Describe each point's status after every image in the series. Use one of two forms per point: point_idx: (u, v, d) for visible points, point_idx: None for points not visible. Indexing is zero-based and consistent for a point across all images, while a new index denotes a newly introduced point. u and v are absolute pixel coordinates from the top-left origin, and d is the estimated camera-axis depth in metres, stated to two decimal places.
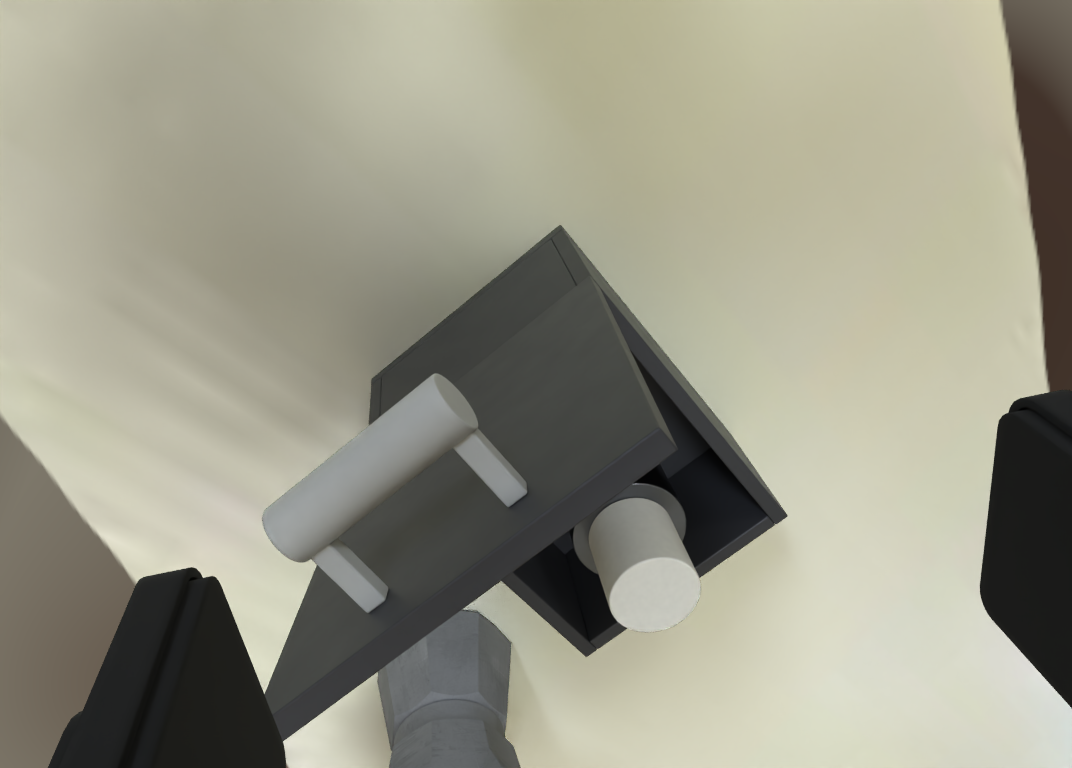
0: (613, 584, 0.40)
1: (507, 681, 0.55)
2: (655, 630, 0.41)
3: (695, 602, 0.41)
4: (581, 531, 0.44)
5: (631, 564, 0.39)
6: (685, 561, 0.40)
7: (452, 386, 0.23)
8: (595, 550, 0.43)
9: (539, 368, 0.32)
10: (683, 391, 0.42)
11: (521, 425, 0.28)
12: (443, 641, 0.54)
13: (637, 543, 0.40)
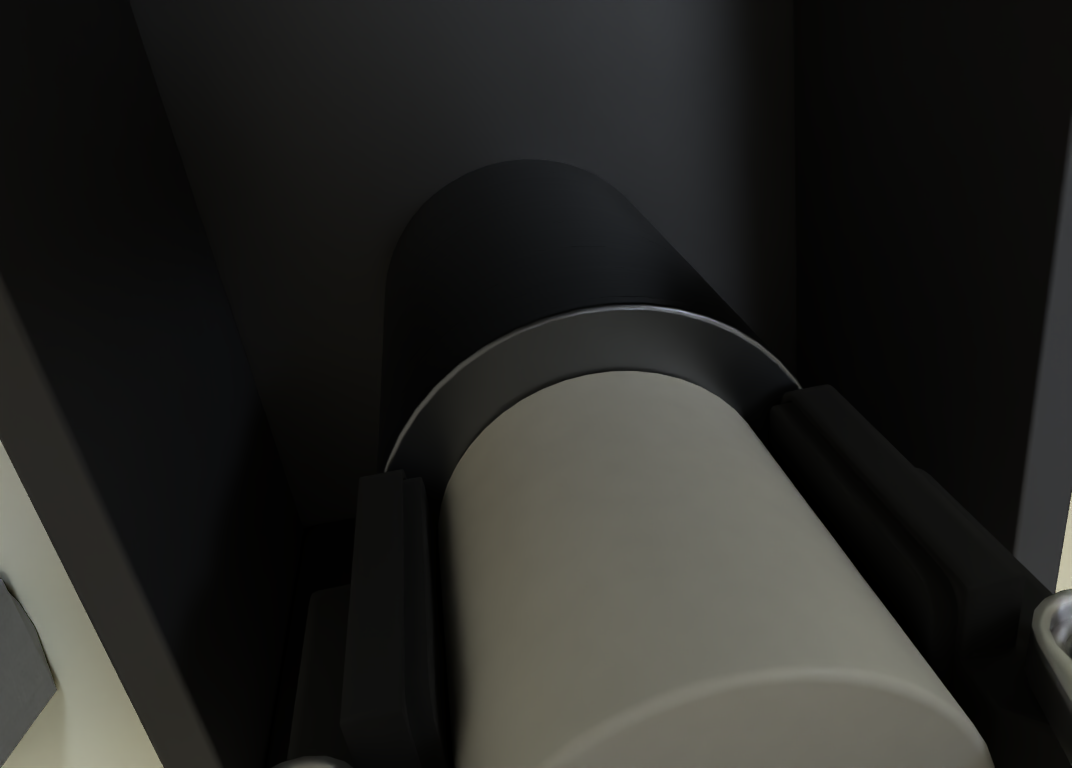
0: (580, 738, 0.06)
1: None
2: None
3: None
4: (446, 423, 0.10)
5: (746, 657, 0.06)
6: (992, 763, 0.07)
7: None
8: (485, 514, 0.09)
9: None
10: None
11: None
12: None
13: (769, 556, 0.07)
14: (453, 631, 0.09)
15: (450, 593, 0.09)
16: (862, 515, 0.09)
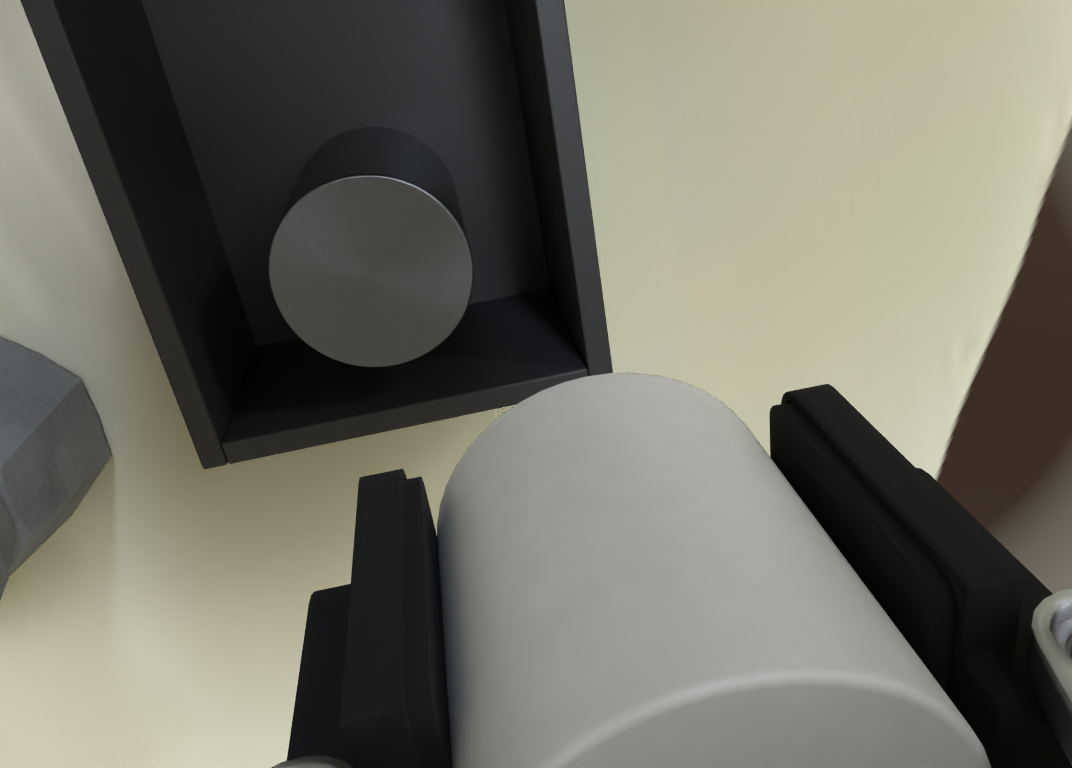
0: (579, 740, 0.06)
1: (68, 493, 0.33)
2: None
3: None
4: (295, 226, 0.25)
5: (744, 660, 0.06)
6: (988, 765, 0.07)
7: None
8: (484, 516, 0.09)
9: None
10: (569, 66, 0.24)
11: None
12: None
13: (766, 558, 0.07)
14: (452, 633, 0.09)
15: (449, 595, 0.09)
16: (862, 515, 0.09)
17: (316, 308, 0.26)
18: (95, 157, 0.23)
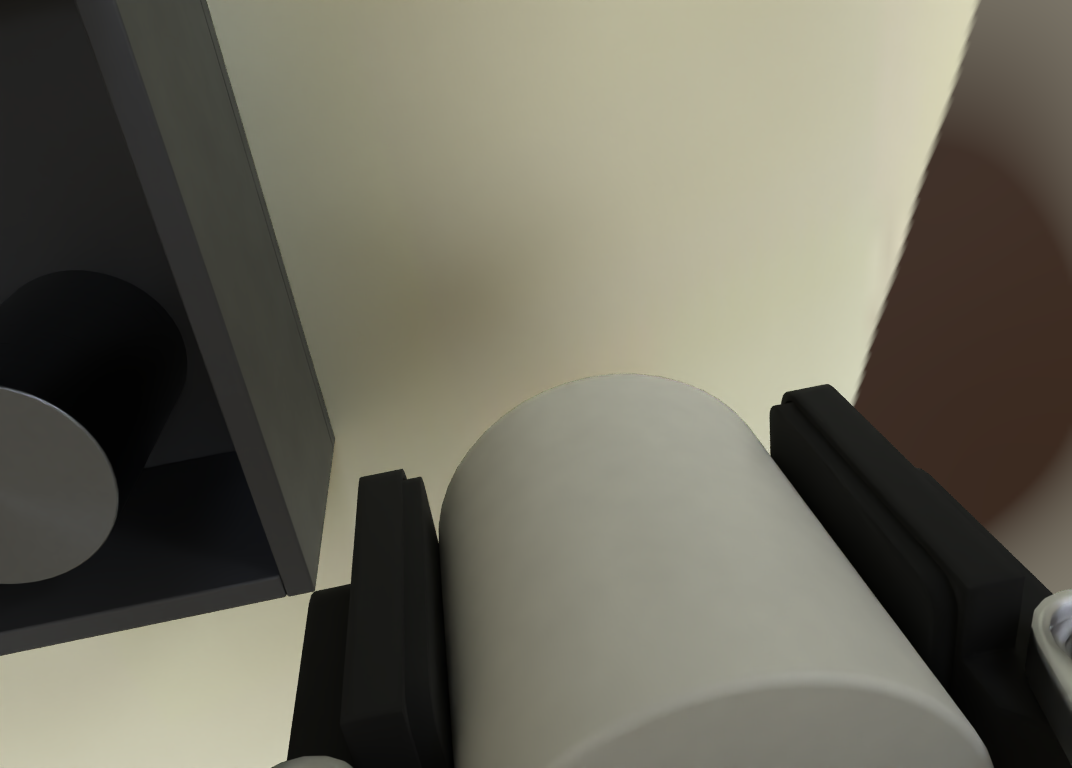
0: (582, 743, 0.06)
1: None
2: None
3: None
4: None
5: (745, 662, 0.06)
6: (992, 766, 0.07)
7: None
8: (486, 517, 0.09)
9: None
10: (198, 259, 0.20)
11: None
12: None
13: (770, 560, 0.07)
14: (454, 634, 0.09)
15: (451, 596, 0.09)
16: (862, 515, 0.09)
17: None
18: None
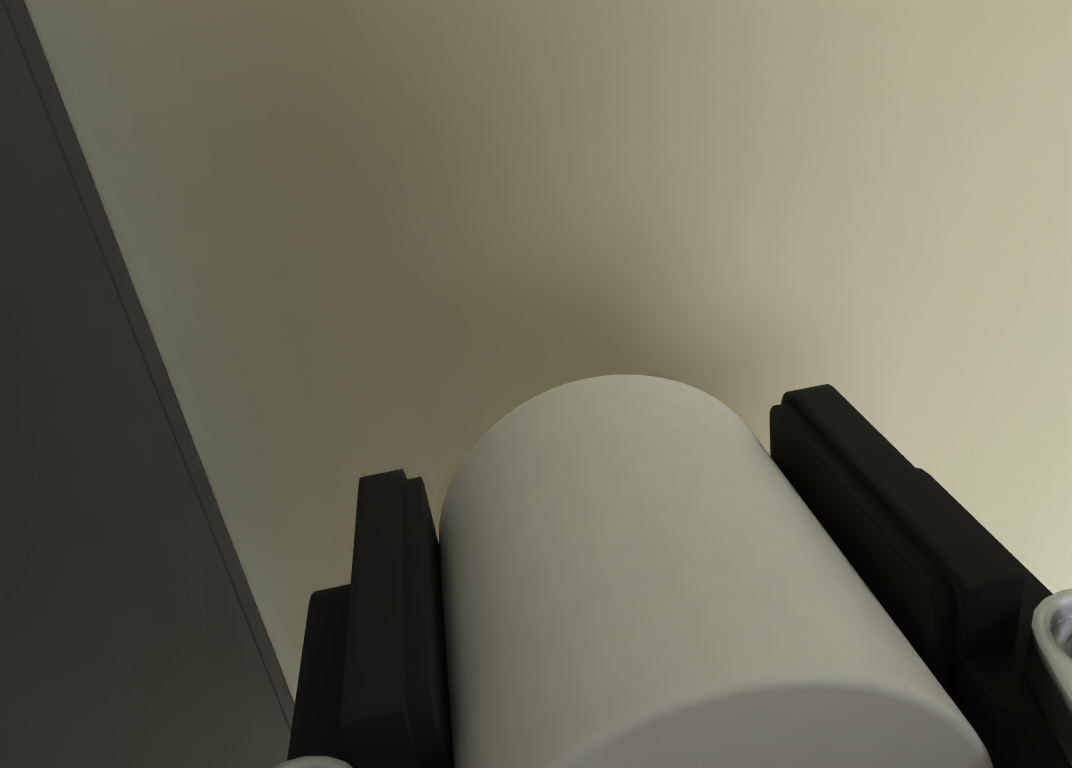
0: (582, 743, 0.06)
1: None
2: None
3: None
4: None
5: (745, 662, 0.06)
6: None
7: None
8: (486, 518, 0.09)
9: None
10: None
11: None
12: None
13: (768, 561, 0.07)
14: (454, 635, 0.09)
15: (451, 597, 0.09)
16: (862, 515, 0.09)
17: None
18: None
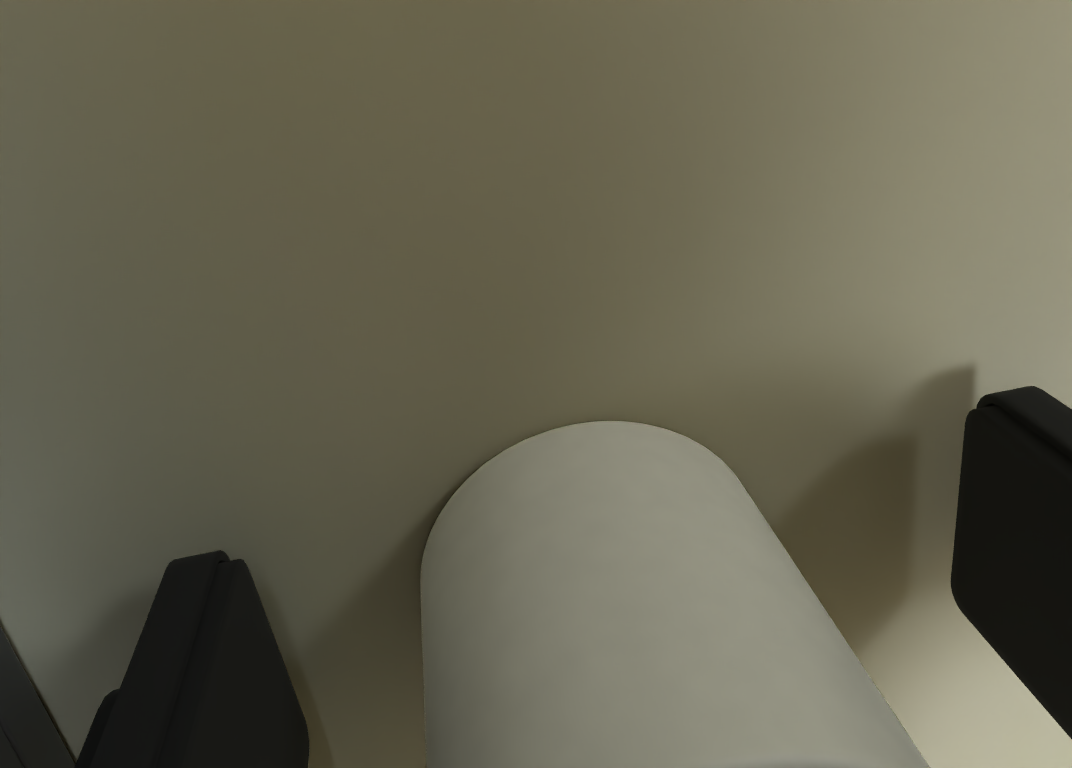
0: None
1: None
2: None
3: None
4: None
5: (724, 744, 0.06)
6: None
7: None
8: (466, 571, 0.09)
9: None
10: None
11: None
12: None
13: (749, 628, 0.07)
14: (431, 693, 0.08)
15: (429, 651, 0.09)
16: None
17: None
18: None
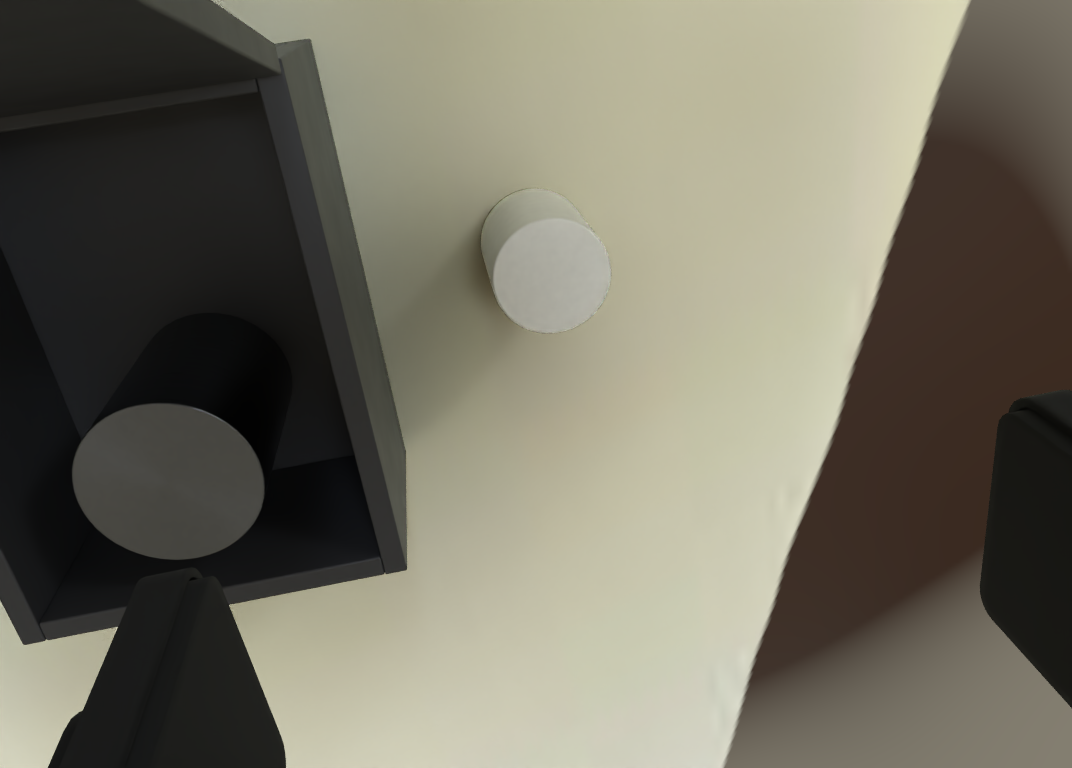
0: (516, 231, 0.31)
1: None
2: (526, 326, 0.32)
3: (588, 315, 0.32)
4: (94, 445, 0.27)
5: (549, 217, 0.31)
6: (607, 252, 0.32)
7: None
8: (496, 218, 0.34)
9: None
10: (340, 312, 0.27)
11: None
12: None
13: (561, 210, 0.32)
14: (488, 244, 0.33)
15: (486, 240, 0.34)
16: None
17: (119, 512, 0.29)
18: None
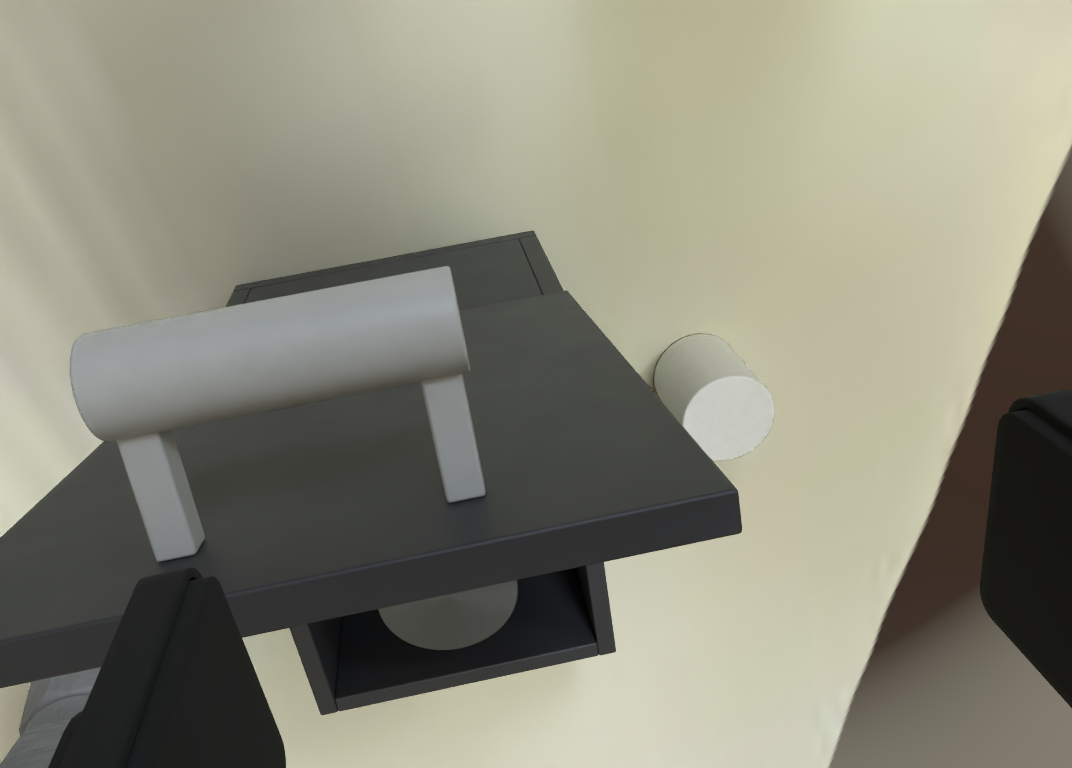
0: (704, 386, 0.39)
1: None
2: None
3: (754, 445, 0.40)
4: None
5: (729, 374, 0.39)
6: (772, 398, 0.40)
7: None
8: (674, 363, 0.42)
9: (495, 356, 0.24)
10: None
11: None
12: None
13: (734, 364, 0.40)
14: (669, 386, 0.41)
15: (666, 381, 0.42)
16: None
17: (408, 617, 0.37)
18: None
